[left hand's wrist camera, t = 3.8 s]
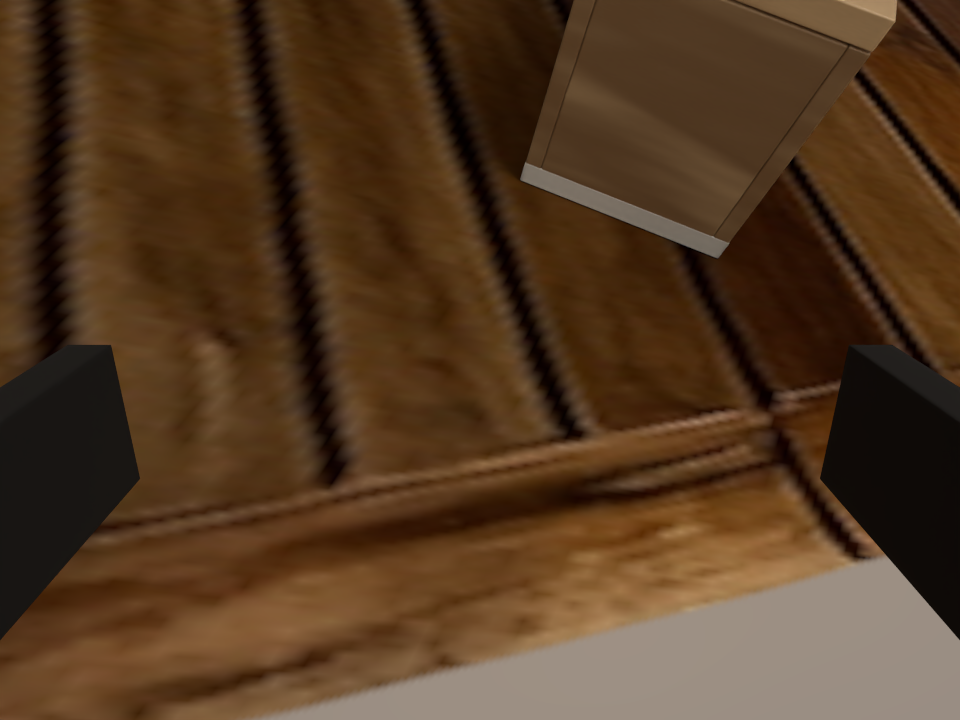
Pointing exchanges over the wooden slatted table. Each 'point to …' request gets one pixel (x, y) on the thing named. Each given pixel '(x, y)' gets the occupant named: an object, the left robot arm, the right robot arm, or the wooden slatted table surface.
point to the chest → (682, 111)
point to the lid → (837, 17)
